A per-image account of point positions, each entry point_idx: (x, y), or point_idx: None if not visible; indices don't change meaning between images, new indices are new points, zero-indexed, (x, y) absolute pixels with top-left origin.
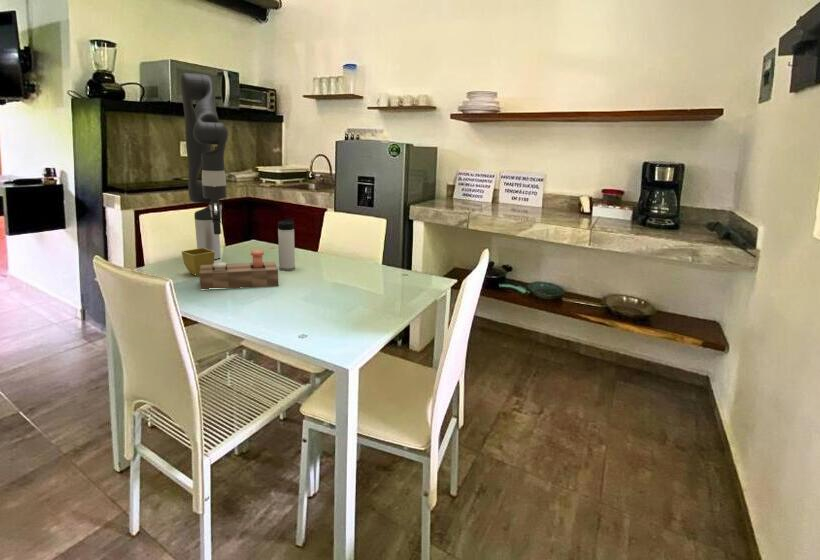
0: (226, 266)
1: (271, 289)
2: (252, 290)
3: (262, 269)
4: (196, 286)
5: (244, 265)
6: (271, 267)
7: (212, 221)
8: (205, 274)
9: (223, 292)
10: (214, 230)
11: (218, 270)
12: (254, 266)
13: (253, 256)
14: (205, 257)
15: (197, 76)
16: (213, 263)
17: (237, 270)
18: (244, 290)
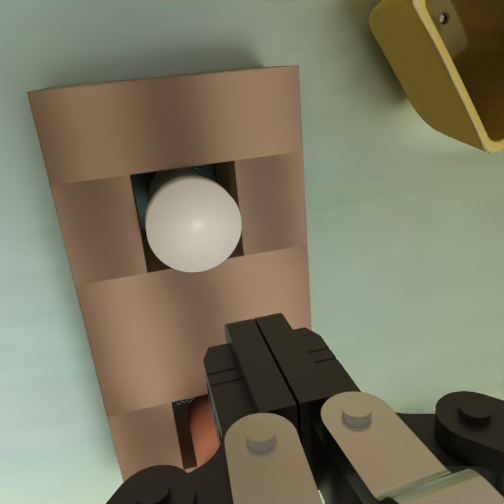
0: (243, 250)
1: (70, 445)
2: (51, 366)
3: (147, 462)
4: (143, 47)
5: None
6: None
7: (135, 492)
8: (40, 136)
9: (8, 228)
10: (235, 353)
11: (128, 218)
12: (199, 418)
13: None
14: (437, 86)
15: None
16: (202, 183)
17: (126, 336)
18: (51, 329)
